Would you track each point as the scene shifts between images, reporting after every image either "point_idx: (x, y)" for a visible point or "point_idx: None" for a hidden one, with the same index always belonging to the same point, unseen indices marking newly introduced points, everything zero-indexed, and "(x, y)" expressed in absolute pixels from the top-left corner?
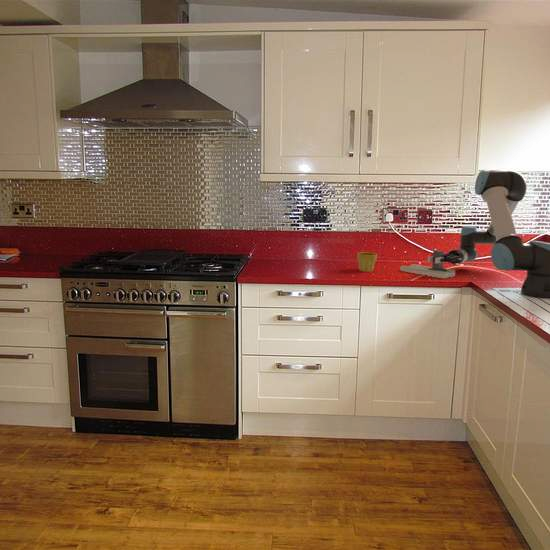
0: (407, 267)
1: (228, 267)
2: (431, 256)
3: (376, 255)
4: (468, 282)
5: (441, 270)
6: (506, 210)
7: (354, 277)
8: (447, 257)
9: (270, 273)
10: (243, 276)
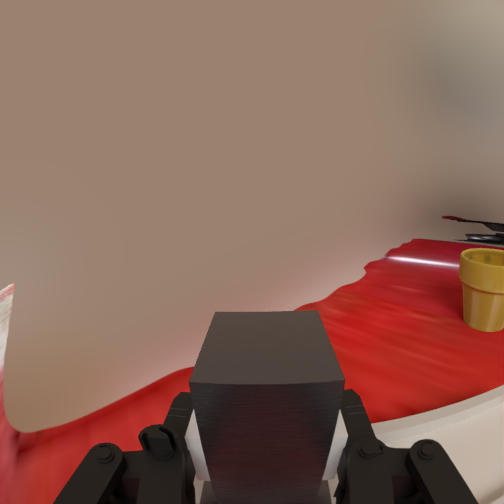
0: (466, 402)
1: (477, 240)
2: (427, 449)
3: (478, 265)
4: (30, 447)
5: (206, 482)
6: None
7: (385, 286)
8: (141, 475)
9: (439, 248)
10: (421, 239)
